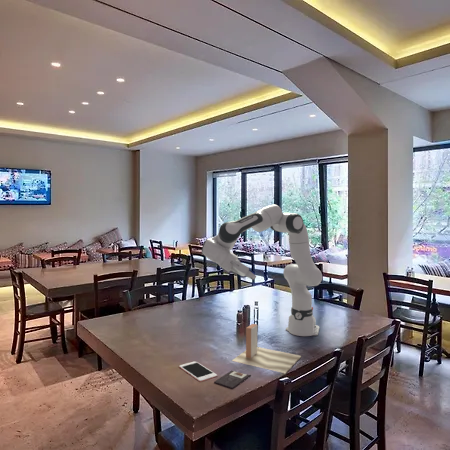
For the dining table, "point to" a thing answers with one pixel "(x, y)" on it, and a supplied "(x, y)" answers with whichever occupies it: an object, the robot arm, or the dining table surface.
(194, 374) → the cell phone
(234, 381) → the chocolate bar
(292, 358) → the board
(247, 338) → the tile
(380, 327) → the dining table surface
